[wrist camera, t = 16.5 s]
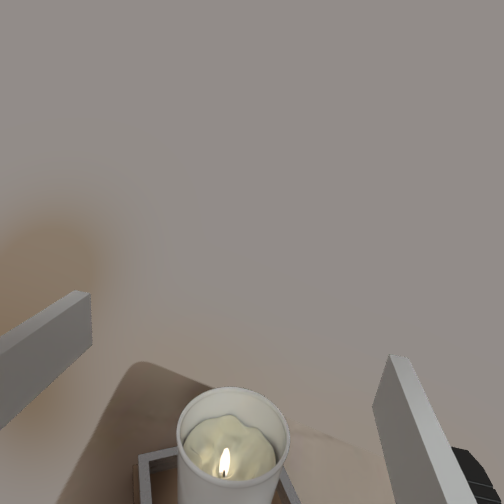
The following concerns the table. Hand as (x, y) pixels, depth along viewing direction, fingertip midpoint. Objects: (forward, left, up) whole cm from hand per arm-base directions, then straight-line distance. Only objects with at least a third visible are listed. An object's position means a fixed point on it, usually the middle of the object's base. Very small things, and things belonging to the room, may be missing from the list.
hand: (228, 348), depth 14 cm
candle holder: (-5, -9, -27) cm, 29 cm away
